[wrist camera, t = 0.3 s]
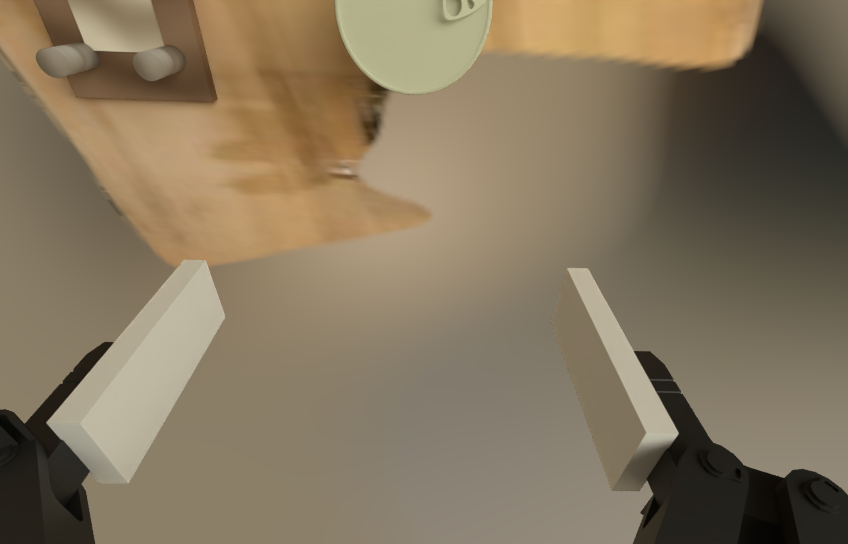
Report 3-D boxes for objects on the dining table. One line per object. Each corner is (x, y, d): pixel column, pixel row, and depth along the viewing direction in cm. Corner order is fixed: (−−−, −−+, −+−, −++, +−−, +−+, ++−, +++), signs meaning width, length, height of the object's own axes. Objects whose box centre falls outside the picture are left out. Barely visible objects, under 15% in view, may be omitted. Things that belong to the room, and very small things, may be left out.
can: (480, 52, 35) (501, 81, 25) (376, 75, 36) (358, 111, 26) (466, -87, 30) (486, -119, 20) (344, -57, 31) (307, -72, 21)
